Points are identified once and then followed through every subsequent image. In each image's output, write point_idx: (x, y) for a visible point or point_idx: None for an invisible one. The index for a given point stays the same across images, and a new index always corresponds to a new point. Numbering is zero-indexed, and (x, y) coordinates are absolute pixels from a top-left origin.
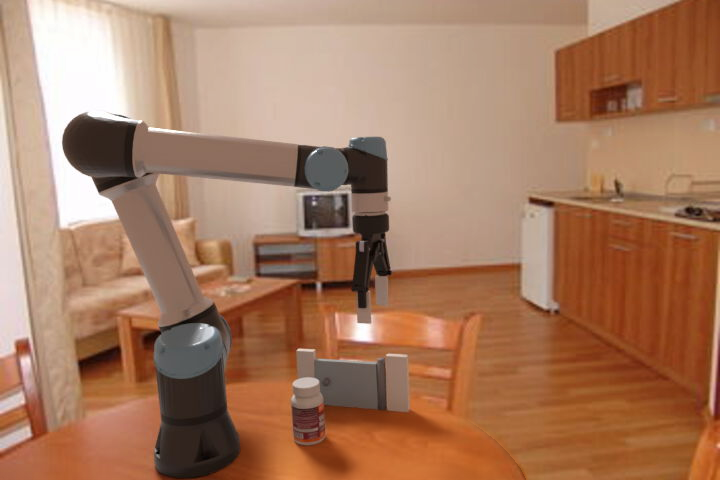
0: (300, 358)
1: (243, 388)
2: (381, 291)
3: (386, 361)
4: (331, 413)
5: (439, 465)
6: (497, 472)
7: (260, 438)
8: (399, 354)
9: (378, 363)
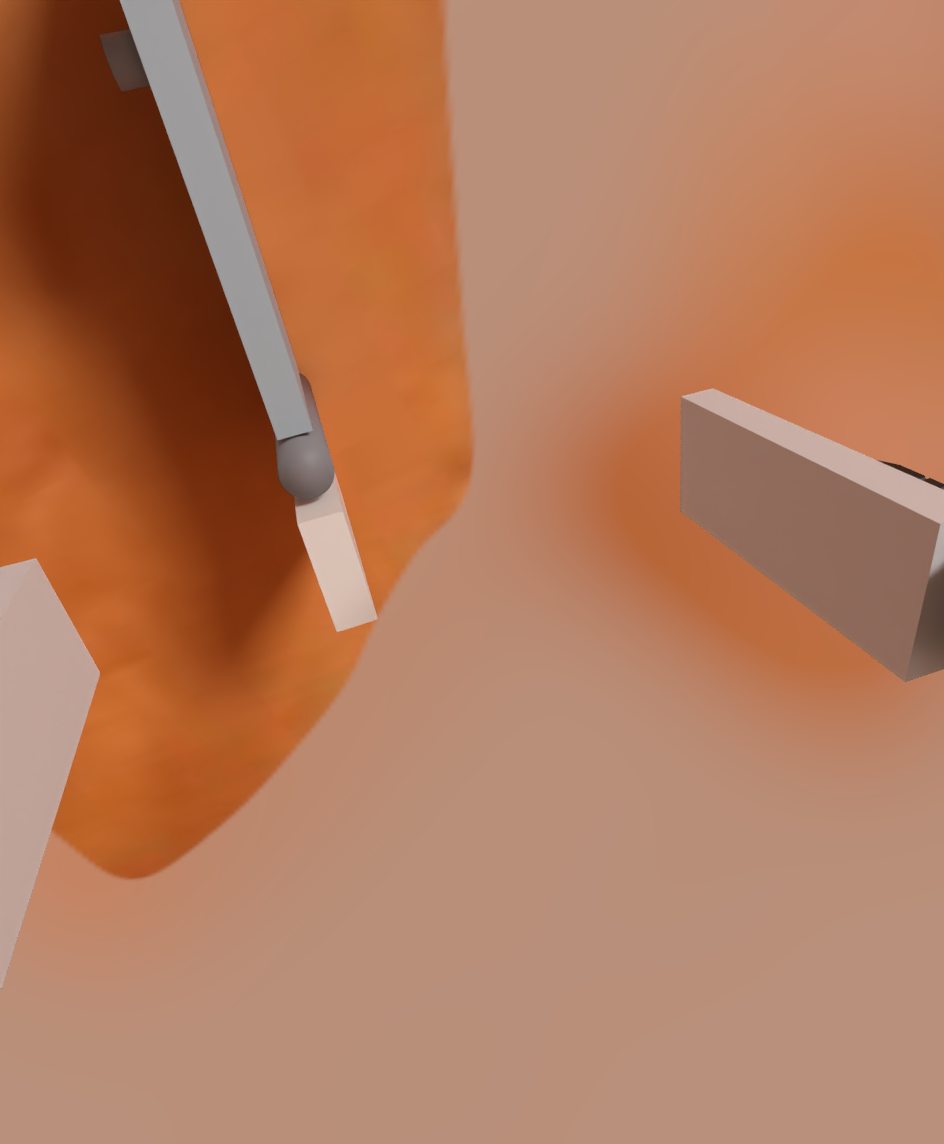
0: None
1: None
2: (771, 513)
3: (296, 513)
4: (96, 158)
5: None
6: (101, 865)
7: None
8: (358, 580)
9: (277, 461)
